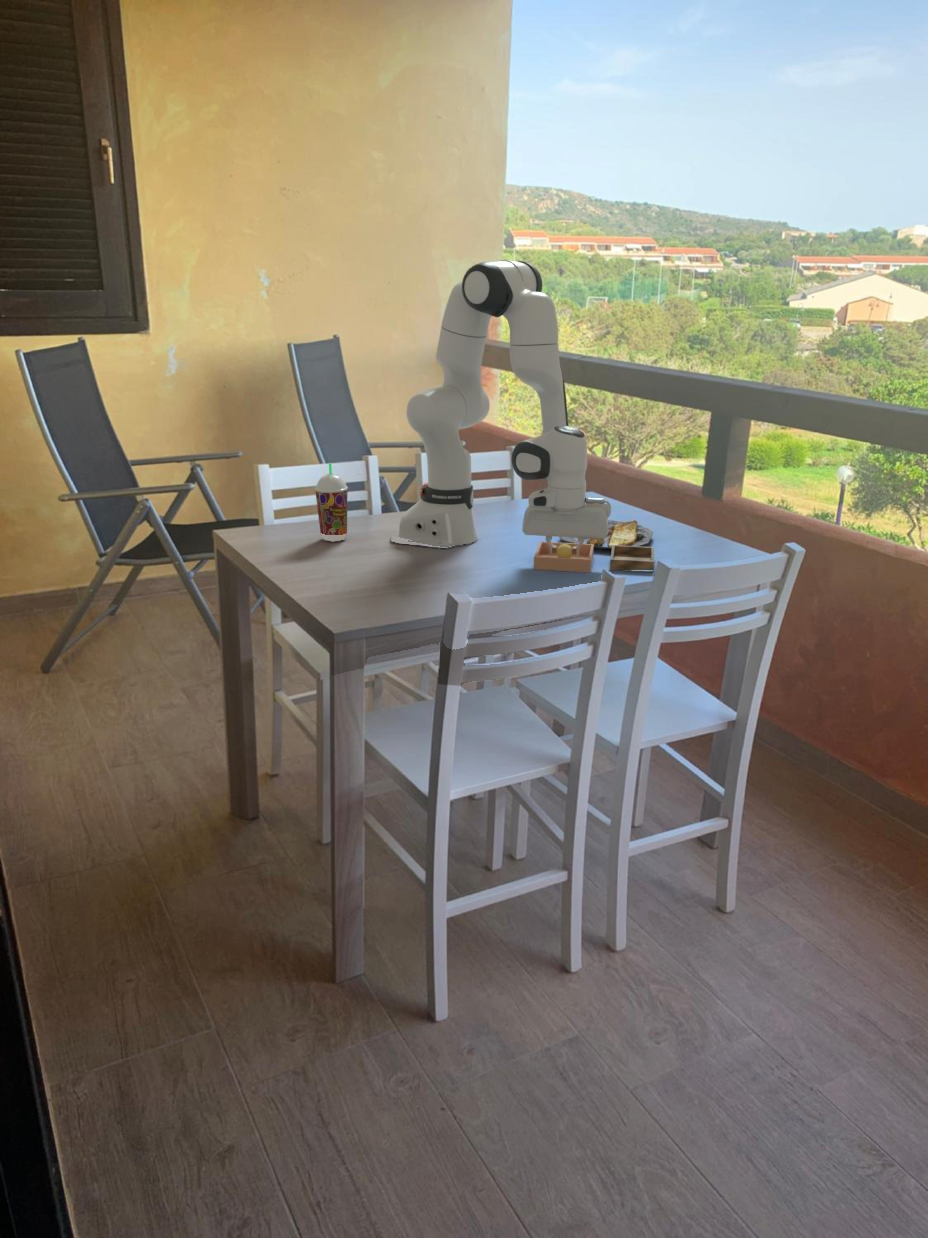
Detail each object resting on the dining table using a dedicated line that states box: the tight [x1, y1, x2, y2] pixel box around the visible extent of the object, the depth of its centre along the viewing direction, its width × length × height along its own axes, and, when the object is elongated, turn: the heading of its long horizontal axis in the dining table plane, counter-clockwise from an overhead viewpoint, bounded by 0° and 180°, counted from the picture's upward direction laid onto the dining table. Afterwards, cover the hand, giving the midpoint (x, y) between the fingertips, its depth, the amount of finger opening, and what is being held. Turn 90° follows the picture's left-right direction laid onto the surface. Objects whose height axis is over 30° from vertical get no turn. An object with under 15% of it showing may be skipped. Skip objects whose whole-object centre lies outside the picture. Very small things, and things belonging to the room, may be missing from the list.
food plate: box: [559, 519, 654, 550], centre depth 237 cm, size 25×23×4 cm
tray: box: [609, 545, 655, 571], centre depth 218 cm, size 10×12×3 cm
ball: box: [556, 544, 573, 558], centre depth 218 cm, size 4×4×4 cm
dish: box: [533, 541, 595, 573], centre depth 218 cm, size 13×13×3 cm
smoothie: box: [314, 462, 349, 535], centre depth 235 cm, size 8×8×20 cm
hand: (564, 554), depth 218 cm, fingers closed on ball, 4 cm apart
